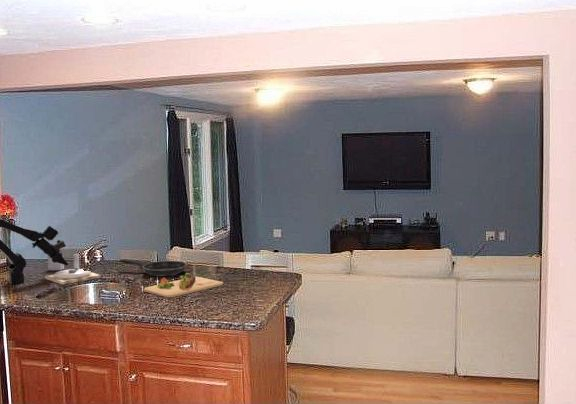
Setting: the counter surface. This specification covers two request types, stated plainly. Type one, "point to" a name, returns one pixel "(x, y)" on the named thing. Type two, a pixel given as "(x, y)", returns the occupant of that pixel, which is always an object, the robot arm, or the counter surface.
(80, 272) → the white base with post
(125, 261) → the frying pan
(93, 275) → the dial base
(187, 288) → the cutting board
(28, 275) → the counter surface
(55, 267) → the medicine box
